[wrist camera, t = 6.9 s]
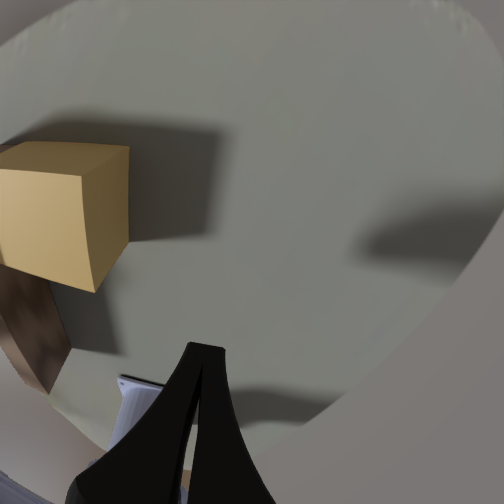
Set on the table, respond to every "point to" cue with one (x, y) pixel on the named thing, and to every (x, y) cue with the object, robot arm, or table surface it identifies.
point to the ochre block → (64, 210)
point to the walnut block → (31, 326)
